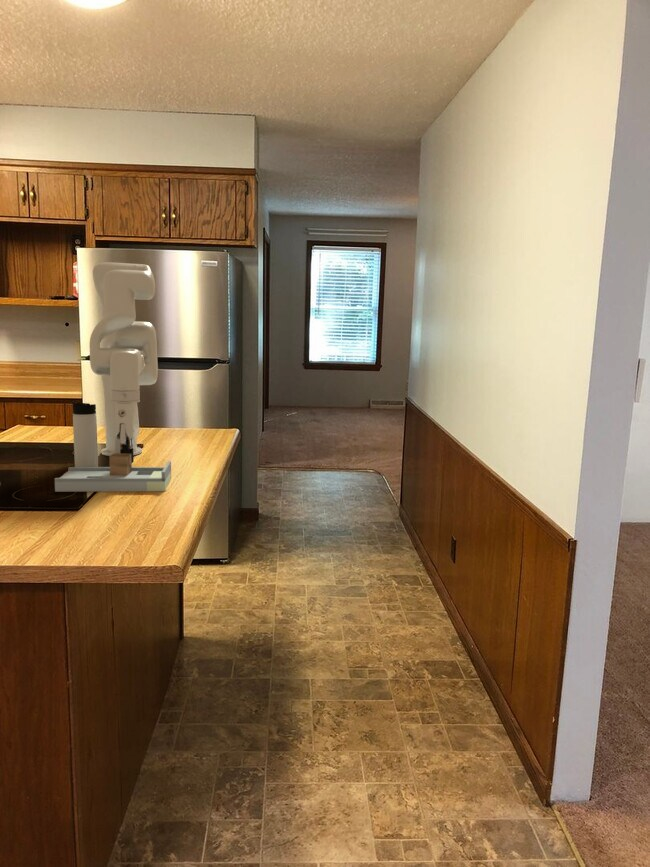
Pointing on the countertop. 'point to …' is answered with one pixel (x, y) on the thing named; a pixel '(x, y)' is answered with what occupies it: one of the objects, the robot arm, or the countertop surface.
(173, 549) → the countertop surface
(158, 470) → the trap box
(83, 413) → the travel mug
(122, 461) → the block
